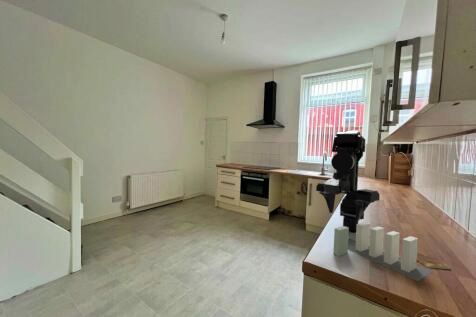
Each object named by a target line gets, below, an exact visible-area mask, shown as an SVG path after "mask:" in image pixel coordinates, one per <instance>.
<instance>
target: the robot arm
mask: <svg viewBox="0 0 476 317" xmlns="http://www.w3.org/2000/svg"><path fill="white" fill-rule="evenodd" d="M365 152H366V139H365V138H364V136H362V135H361V131H360V130H348V131H346V132H337V133H336V135H335V136H334V137H333V142H332V147H331V153H336V154H334V155H333V156H332V158H331V160H330V164H331V166H332V168H333V169H334V170H335V172H333V174H332V178H329V179H328V180H326V181H324V182H318V183H317V185H316V186H315V191H317V192H318V193H319V195H321V196H322V197H323V198H324V200H325V203H326V205H327V209H328V212H329V214H333V212H334V208H335V201H336V195H340V194H344V196H343V199H342V200H341V202H340V204H339V205H340V206H339V215H340V217H343V219H342V226H345V227H348V228H349V233H351V234H356V228H357V224H359V221H360V220H364V219H365V211H366V210H367V208H368V207H369V206H370V204H372V203H375V202H377V201H380V199H381V198H380V197H381V196H380V195H381V194H380V193H379V191H378V190H373V189H368V188H367V189H366V188H364V189H358V187H359V186H358V185H359V184H358V183H359V163H360V160H361V159H362V158H363V157H364V153H365Z"/></svg>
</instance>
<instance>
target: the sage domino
mask: <svg viewBox="0 0 476 317" xmlns="http://www.w3.org/2000/svg"><path fill="white" fill-rule="evenodd" d="M349 233H350V232H349V228H348V227H345V226H343V225H342V226H338V227H334V234H333V251H332V252H333V255H336V256H338V257H340V256H343V255H346V254H348V252H349V250H348V239H349Z"/></svg>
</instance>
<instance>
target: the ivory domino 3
mask: <svg viewBox="0 0 476 317" xmlns="http://www.w3.org/2000/svg"><path fill="white" fill-rule="evenodd" d="M400 238H401V234H400V232H397V231H395V230H392V231H388V232H384V249H383V252H384V262H386V263H388V264H390V265H391V264H393V263H395V262H397V261H398V258H400V256H399V254H400Z"/></svg>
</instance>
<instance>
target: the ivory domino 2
mask: <svg viewBox="0 0 476 317" xmlns="http://www.w3.org/2000/svg"><path fill="white" fill-rule="evenodd" d="M384 240H385V228H384V227H381V226H375V227H374V226H373V227H370V233H369V256H372V257H374V258H375V257H378V256H380V255H383V252H384Z"/></svg>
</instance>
